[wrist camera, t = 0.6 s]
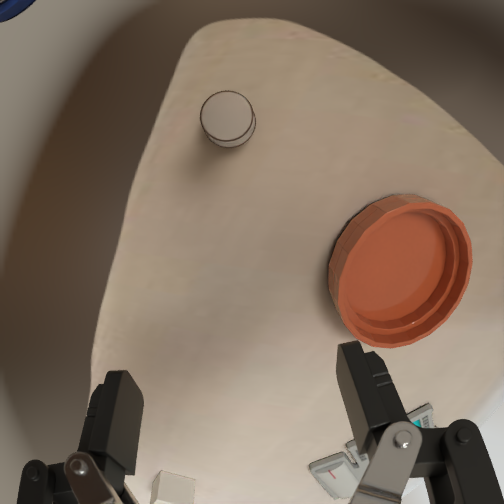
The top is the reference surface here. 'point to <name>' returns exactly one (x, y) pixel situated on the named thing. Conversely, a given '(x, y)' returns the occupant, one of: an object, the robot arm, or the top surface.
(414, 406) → the top surface
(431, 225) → the bowl
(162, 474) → the white cube
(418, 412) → the office telephone
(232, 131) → the muddler
